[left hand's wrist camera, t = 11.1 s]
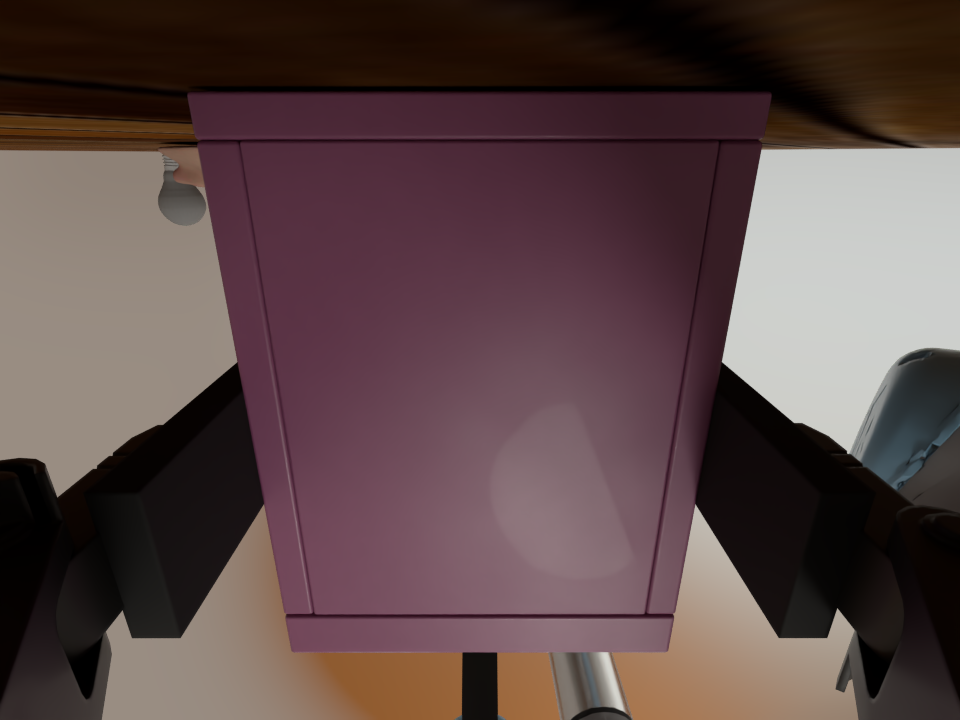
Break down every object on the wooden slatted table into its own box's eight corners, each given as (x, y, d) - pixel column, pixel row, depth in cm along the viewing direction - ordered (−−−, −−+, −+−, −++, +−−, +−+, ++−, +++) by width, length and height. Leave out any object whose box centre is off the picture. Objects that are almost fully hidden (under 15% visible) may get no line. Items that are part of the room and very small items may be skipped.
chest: (597, 130, 20) (578, 386, 24) (361, 130, 20) (381, 386, 24) (775, 90, 8) (676, 615, 12) (184, 90, 8) (283, 615, 12)
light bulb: (184, 151, 69) (199, 227, 73) (202, 152, 75) (215, 222, 79) (138, 151, 69) (155, 228, 72) (159, 152, 74) (174, 223, 78)
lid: (575, 382, 25) (564, 532, 28) (383, 382, 25) (395, 532, 28) (675, 617, 12) (634, 839, 16) (283, 616, 12) (325, 839, 16)
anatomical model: (156, 207, 35) (327, 202, 39) (142, 145, 34) (322, 146, 38) (182, 195, 47) (312, 192, 51) (172, 148, 46) (307, 149, 49)
